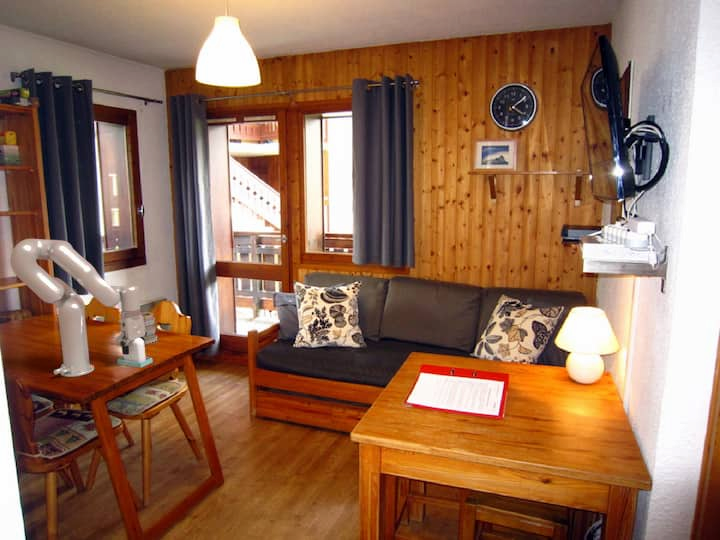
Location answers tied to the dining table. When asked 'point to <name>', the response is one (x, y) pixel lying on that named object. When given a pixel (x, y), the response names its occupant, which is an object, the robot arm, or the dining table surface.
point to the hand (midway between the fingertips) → (134, 350)
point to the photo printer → (136, 351)
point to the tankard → (148, 323)
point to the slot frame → (135, 364)
